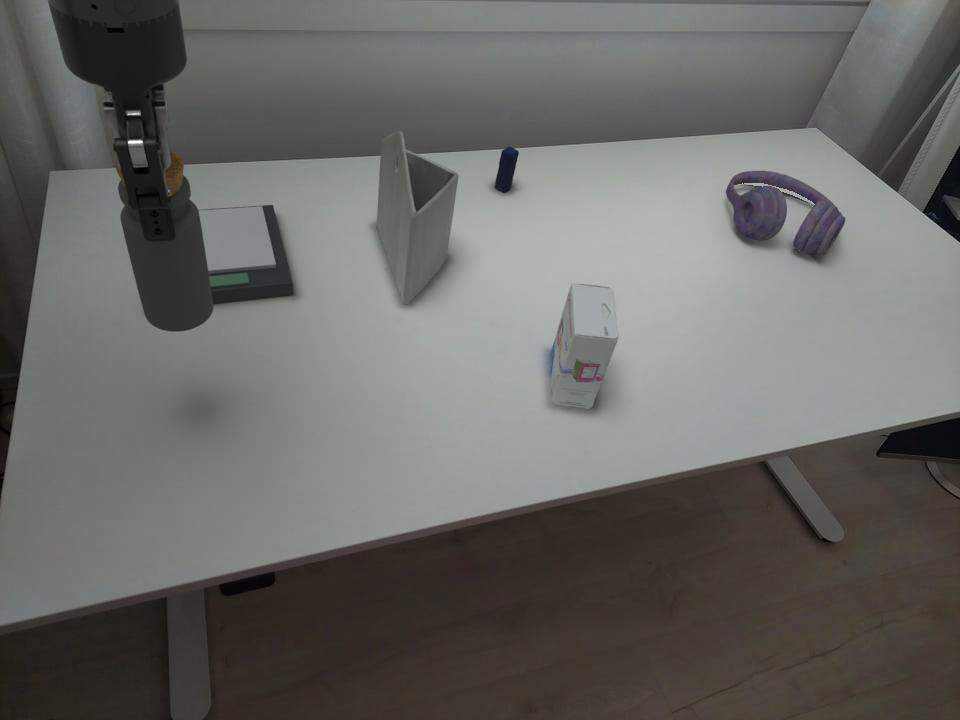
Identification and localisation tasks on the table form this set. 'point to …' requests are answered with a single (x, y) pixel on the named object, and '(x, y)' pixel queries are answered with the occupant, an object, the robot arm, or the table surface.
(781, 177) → the headphones
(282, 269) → the scale
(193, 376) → the table surface
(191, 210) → the bottle
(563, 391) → the ink box
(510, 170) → the eraser
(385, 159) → the planter
